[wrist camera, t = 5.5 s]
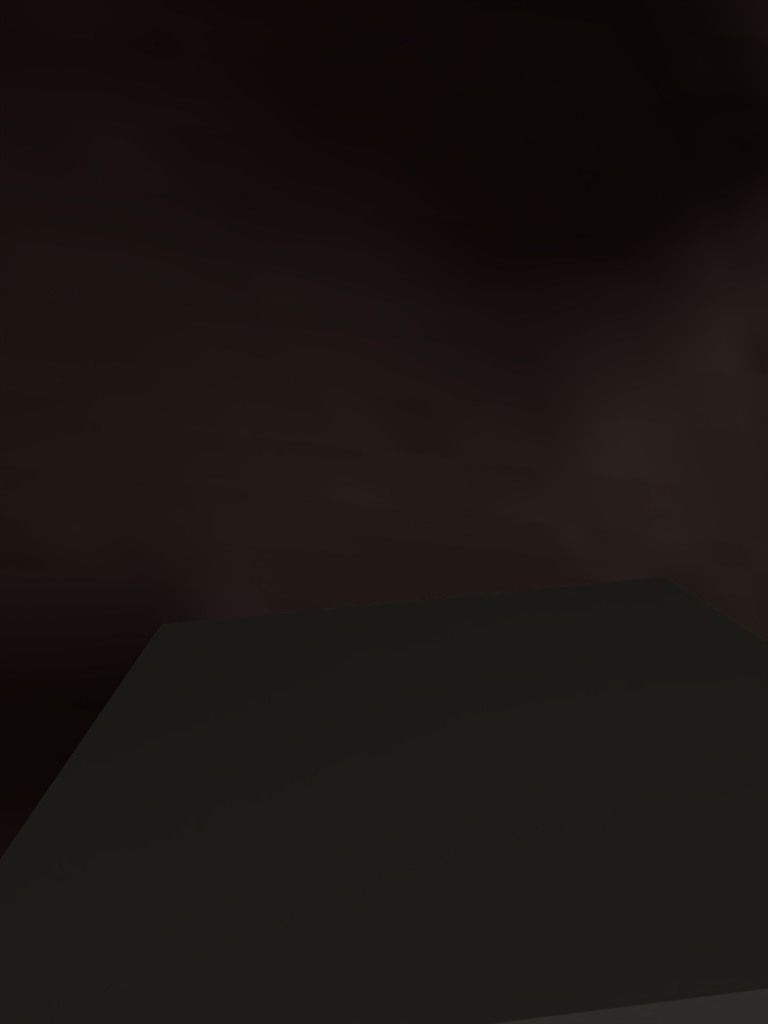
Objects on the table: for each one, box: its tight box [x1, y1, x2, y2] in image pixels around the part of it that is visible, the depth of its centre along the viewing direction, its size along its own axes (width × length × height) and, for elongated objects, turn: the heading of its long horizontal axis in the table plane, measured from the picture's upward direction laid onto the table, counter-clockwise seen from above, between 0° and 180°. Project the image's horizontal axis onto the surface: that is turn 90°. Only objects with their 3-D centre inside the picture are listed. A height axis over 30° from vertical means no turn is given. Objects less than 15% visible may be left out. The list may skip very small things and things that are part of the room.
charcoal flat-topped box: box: [0, 577, 768, 1024], centre depth 10 cm, size 10×10×9 cm
